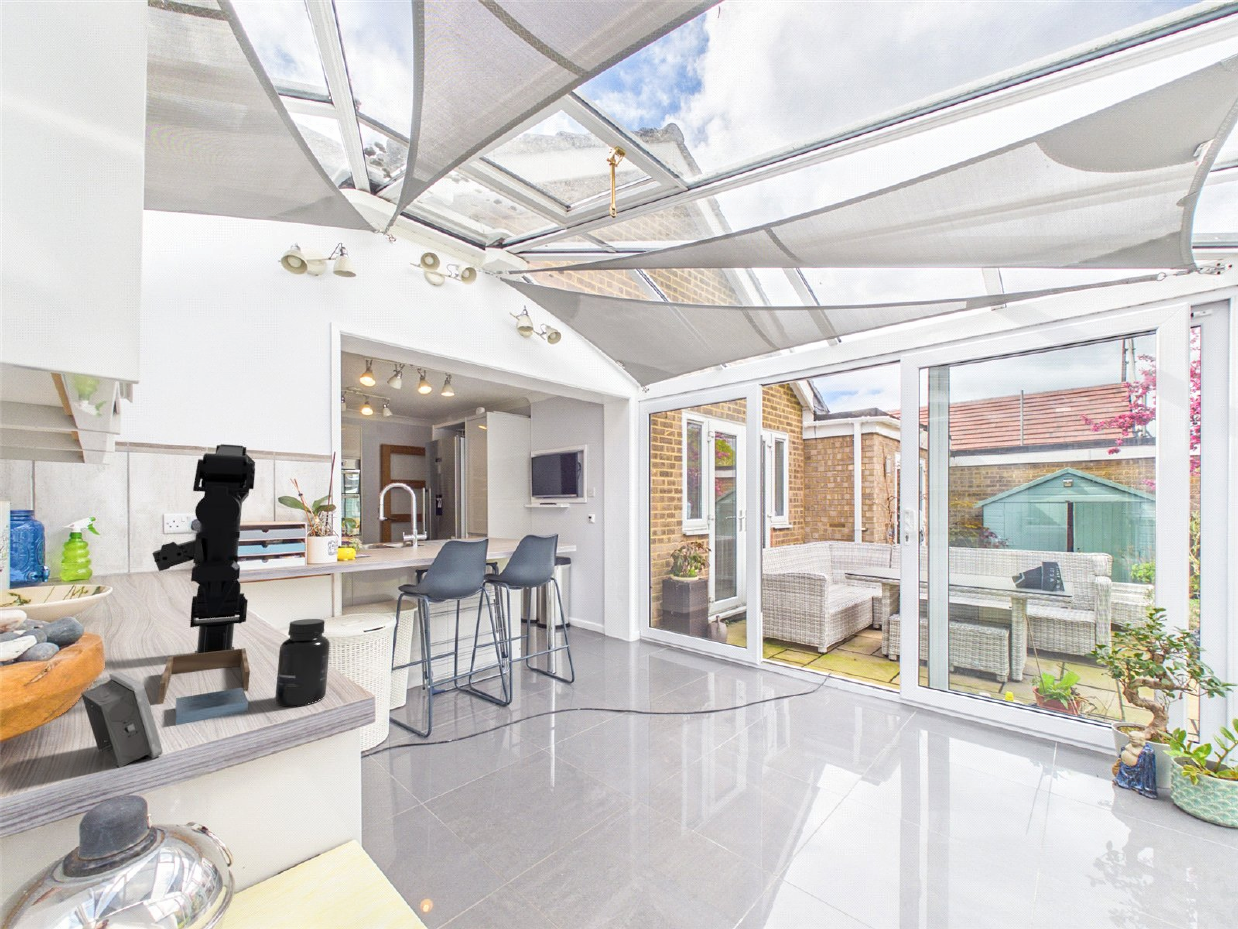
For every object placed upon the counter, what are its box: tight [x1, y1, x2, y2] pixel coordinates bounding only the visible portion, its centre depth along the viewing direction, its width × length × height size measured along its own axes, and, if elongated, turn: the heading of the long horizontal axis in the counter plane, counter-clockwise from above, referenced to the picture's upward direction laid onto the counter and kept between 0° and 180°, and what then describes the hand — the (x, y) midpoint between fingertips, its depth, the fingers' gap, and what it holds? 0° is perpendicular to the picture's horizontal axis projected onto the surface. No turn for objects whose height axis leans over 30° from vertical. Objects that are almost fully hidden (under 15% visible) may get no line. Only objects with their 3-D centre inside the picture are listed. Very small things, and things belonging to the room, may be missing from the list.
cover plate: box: [174, 687, 249, 726], centre depth 78 cm, size 8×8×2 cm
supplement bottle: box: [274, 618, 331, 708], centre depth 83 cm, size 7×7×12 cm
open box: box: [157, 647, 251, 705], centre depth 91 cm, size 19×11×3 cm, turn 37°
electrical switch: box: [80, 671, 163, 768], centre depth 63 cm, size 9×5×9 cm, turn 57°
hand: (212, 616), depth 91 cm, fingers closed
